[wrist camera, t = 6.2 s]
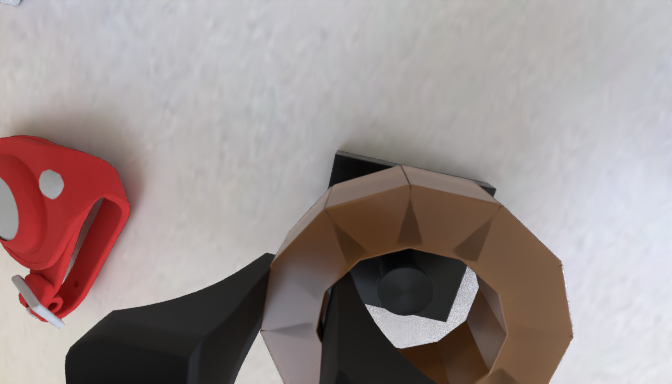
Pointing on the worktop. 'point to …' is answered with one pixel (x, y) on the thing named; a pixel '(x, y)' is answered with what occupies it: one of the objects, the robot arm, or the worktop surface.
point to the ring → (433, 237)
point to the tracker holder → (56, 221)
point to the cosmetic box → (10, 2)
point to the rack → (402, 260)
